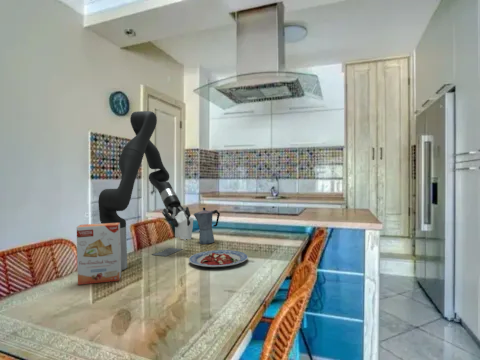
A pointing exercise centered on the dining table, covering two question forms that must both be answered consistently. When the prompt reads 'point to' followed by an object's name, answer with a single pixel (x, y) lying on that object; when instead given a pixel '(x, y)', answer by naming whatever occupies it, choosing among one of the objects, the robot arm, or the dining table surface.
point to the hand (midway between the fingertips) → (183, 225)
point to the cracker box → (98, 253)
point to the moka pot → (206, 225)
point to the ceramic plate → (218, 258)
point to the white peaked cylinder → (181, 225)
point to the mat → (167, 252)
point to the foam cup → (189, 229)
